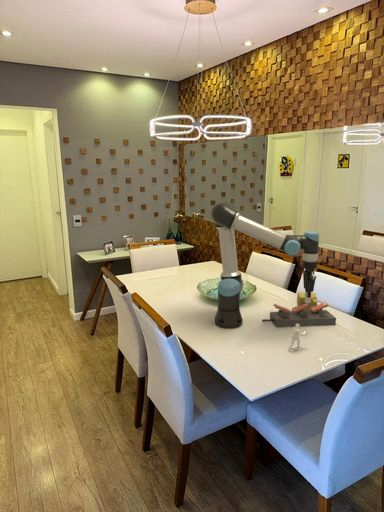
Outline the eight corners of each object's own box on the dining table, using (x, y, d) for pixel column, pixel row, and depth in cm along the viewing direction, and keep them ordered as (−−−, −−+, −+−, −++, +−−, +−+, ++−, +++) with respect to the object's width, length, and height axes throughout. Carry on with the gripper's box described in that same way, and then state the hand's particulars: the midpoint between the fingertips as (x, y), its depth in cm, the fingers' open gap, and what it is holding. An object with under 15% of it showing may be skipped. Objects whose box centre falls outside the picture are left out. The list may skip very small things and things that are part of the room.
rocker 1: (275, 309, 190) (276, 306, 190) (273, 306, 194) (274, 303, 194) (290, 314, 191) (291, 311, 191) (287, 311, 195) (289, 308, 195)
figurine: (285, 349, 162) (286, 325, 159) (298, 344, 167) (300, 320, 164) (294, 353, 158) (295, 328, 155) (307, 347, 163) (308, 323, 161)
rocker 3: (313, 313, 192) (312, 310, 192) (310, 311, 196) (309, 308, 196) (329, 307, 192) (328, 304, 192) (325, 304, 196) (324, 301, 195)
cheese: (317, 314, 202) (318, 298, 200) (297, 313, 204) (298, 297, 202) (314, 308, 212) (315, 292, 210) (296, 307, 214) (297, 291, 212)
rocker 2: (294, 314, 192) (293, 311, 191) (292, 311, 196) (291, 308, 195) (310, 308, 191) (309, 305, 191) (307, 305, 195) (306, 302, 195)
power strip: (265, 327, 185) (265, 318, 184) (259, 318, 197) (259, 309, 196) (335, 325, 187) (336, 315, 186) (325, 316, 199) (326, 307, 198)
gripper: (322, 263, 181) (319, 306, 187) (312, 257, 194) (309, 298, 199) (307, 263, 181) (305, 307, 186) (298, 257, 194) (296, 298, 199)
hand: (307, 302), depth 193 cm, fingers closed
